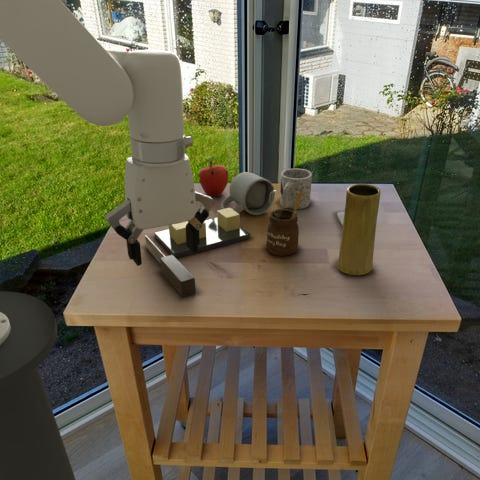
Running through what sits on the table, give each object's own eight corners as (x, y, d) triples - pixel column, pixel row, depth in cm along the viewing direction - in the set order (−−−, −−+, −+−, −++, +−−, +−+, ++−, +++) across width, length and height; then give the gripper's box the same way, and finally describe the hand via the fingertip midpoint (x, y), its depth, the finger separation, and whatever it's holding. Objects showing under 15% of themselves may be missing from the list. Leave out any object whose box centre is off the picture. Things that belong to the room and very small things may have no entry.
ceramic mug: (255, 198, 113) (255, 164, 108) (275, 211, 107) (276, 176, 102) (214, 208, 109) (212, 174, 104) (232, 222, 103) (231, 187, 98)
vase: (375, 275, 85) (387, 197, 76) (339, 276, 85) (347, 198, 77) (368, 258, 90) (379, 182, 81) (334, 258, 90) (341, 183, 81)
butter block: (177, 244, 93) (176, 229, 91) (169, 236, 96) (168, 221, 94) (206, 237, 95) (205, 222, 94) (197, 229, 98) (196, 215, 96)
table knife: (153, 246, 95) (151, 231, 93) (195, 293, 81) (194, 278, 79) (141, 249, 94) (139, 234, 92) (182, 297, 80) (181, 281, 78)
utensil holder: (276, 239, 97) (279, 179, 90) (304, 247, 94) (309, 186, 87) (259, 251, 93) (260, 189, 86) (288, 260, 90) (292, 197, 83)
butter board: (174, 258, 91) (174, 253, 90) (154, 237, 98) (154, 232, 97) (250, 238, 97) (250, 233, 96) (226, 219, 104) (226, 215, 103)
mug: (286, 195, 114) (288, 166, 110) (313, 200, 112) (316, 171, 108) (269, 211, 107) (269, 181, 103) (297, 216, 105) (299, 186, 101)
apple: (196, 191, 117) (193, 148, 111) (223, 187, 119) (221, 145, 113) (206, 203, 111) (203, 159, 105) (234, 198, 113) (233, 155, 107)
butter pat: (226, 232, 97) (226, 217, 95) (217, 224, 100) (216, 210, 98) (240, 228, 98) (239, 214, 96) (230, 221, 101) (230, 207, 99)
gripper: (201, 135, 77) (202, 236, 87) (90, 148, 70) (105, 256, 80) (223, 148, 72) (222, 254, 81) (106, 164, 64) (120, 278, 74)
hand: (165, 255), depth 81 cm, fingers open, 9 cm apart
